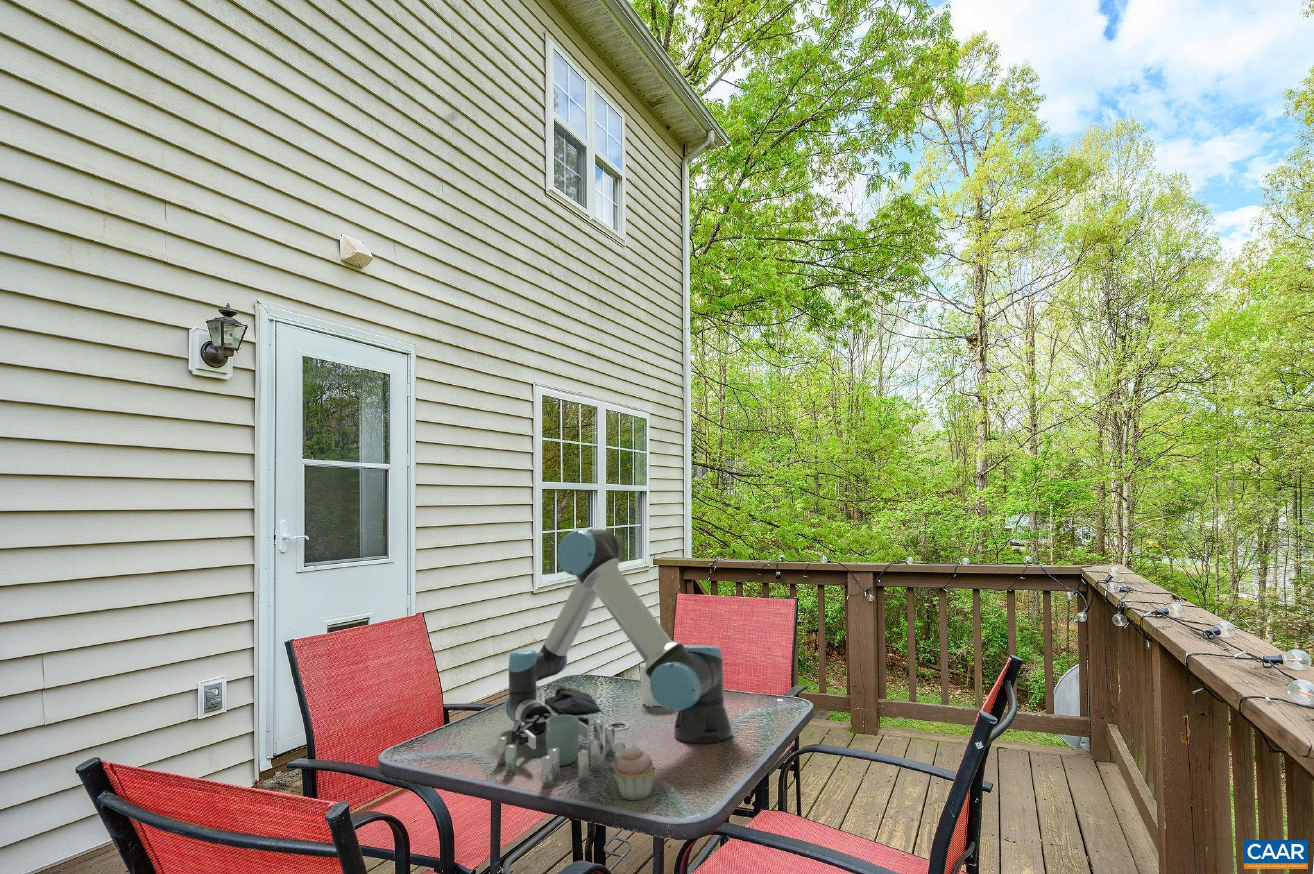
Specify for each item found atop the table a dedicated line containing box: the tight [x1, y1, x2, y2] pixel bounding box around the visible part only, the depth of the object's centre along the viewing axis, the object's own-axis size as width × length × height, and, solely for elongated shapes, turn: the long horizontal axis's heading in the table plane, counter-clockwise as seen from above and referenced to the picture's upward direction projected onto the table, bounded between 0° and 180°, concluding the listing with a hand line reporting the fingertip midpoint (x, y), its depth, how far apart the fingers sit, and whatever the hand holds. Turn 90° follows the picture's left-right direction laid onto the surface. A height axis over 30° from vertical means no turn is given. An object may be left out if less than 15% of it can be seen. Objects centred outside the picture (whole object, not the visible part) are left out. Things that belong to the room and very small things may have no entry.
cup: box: [545, 714, 580, 767], centre depth 162 cm, size 8×8×10 cm
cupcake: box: [612, 743, 658, 801], centre depth 142 cm, size 9×9×10 cm
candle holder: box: [639, 662, 660, 706], centre depth 214 cm, size 10×10×12 cm
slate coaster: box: [512, 736, 547, 759], centre depth 174 cm, size 12×12×1 cm
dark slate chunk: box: [544, 685, 602, 715], centre depth 214 cm, size 15×22×5 cm
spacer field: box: [496, 719, 629, 789], centre depth 160 cm, size 22×32×6 cm
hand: (562, 738), depth 162 cm, fingers open, 13 cm apart
